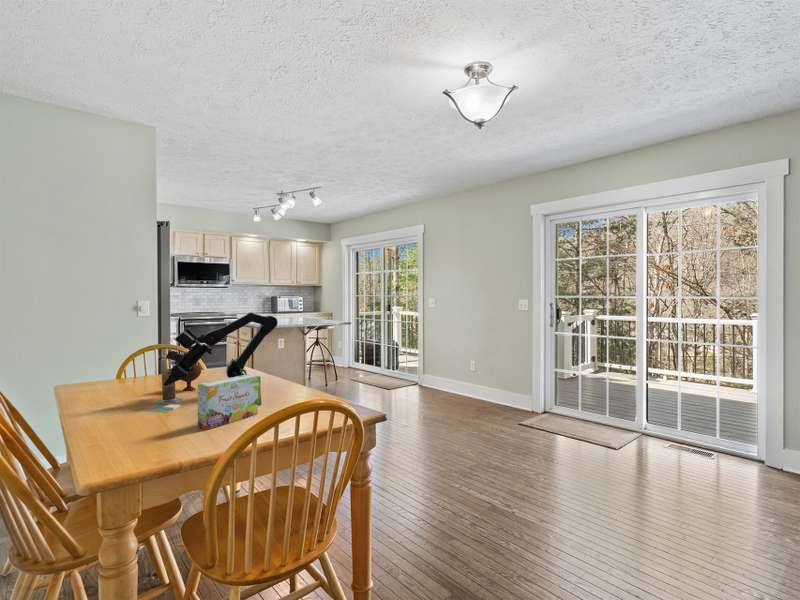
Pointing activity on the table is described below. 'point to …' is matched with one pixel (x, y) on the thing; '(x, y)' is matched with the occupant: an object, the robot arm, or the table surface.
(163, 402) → the trivet
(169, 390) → the pepper mill
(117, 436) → the table surface
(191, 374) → the ice cream bowl
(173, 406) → the mat
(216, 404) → the snack box
